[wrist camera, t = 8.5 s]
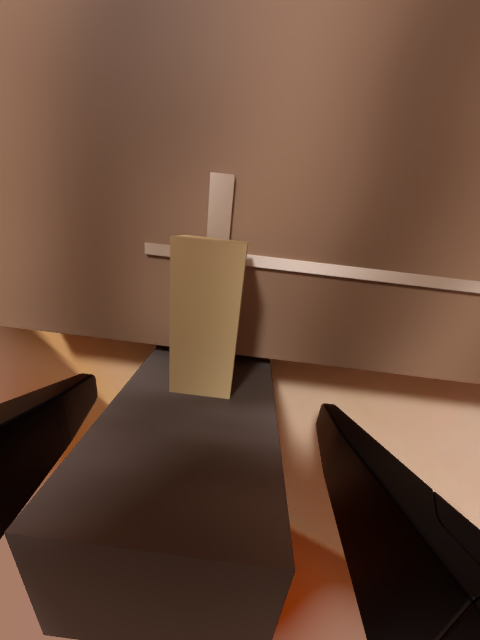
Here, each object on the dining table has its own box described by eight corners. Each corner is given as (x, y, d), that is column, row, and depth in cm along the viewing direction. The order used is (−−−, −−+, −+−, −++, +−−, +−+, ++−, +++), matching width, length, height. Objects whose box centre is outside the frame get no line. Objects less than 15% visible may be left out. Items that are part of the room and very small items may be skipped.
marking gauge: (285, 242, 8) (388, 289, 2) (257, 407, 11) (263, 664, 4) (167, 229, 8) (-115, 230, 2) (167, 395, 11) (43, 635, 4)
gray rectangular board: (938, 36, 6) (1279, -60, 4) (648, 379, 10) (753, 419, 8) (-23, -64, 6) (-152, -200, 4) (46, 306, 10) (-7, 326, 8)
